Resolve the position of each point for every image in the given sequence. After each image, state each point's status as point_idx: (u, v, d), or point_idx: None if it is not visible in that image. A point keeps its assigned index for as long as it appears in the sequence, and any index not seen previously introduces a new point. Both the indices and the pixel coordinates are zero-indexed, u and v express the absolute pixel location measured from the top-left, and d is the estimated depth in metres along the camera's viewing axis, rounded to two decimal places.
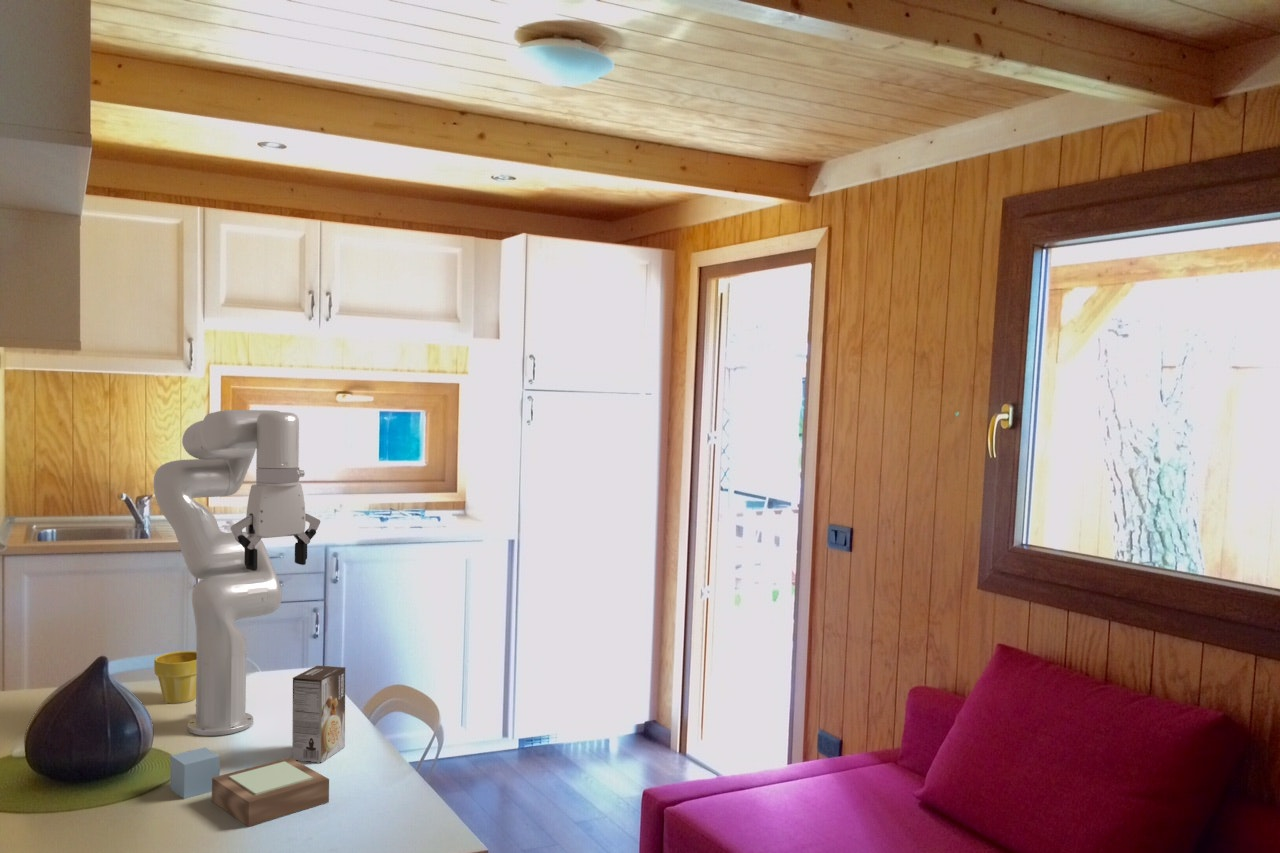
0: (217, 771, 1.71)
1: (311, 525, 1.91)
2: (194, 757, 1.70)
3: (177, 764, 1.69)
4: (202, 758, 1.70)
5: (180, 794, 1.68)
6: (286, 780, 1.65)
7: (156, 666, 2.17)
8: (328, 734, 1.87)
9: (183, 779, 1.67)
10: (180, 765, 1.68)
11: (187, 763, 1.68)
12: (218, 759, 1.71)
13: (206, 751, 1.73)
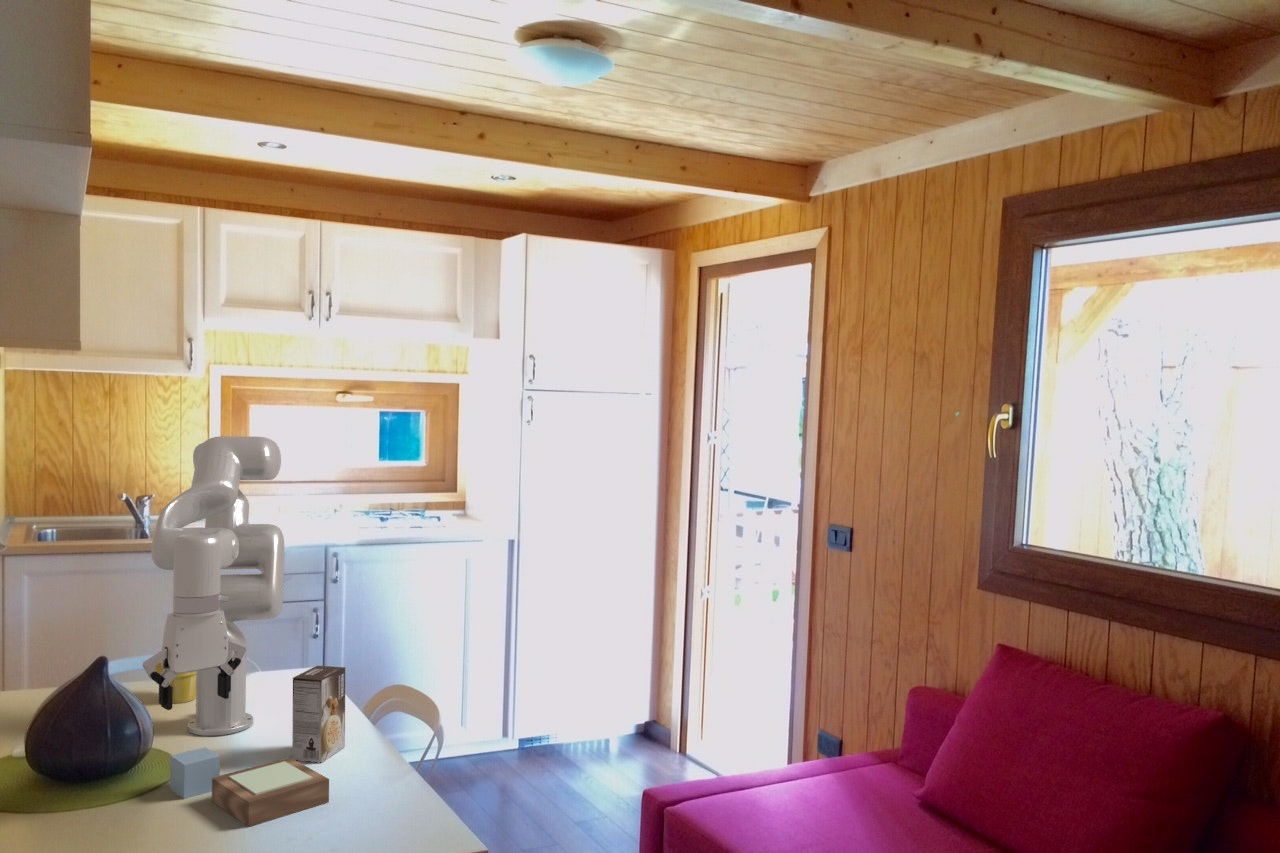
0: (217, 771, 1.71)
1: (236, 654, 1.75)
2: (194, 757, 1.70)
3: (177, 764, 1.69)
4: (202, 758, 1.70)
5: (180, 794, 1.68)
6: (286, 780, 1.65)
7: (156, 666, 2.17)
8: (328, 734, 1.87)
9: (183, 779, 1.67)
10: (180, 765, 1.68)
11: (187, 763, 1.68)
12: (218, 759, 1.71)
13: (206, 751, 1.73)
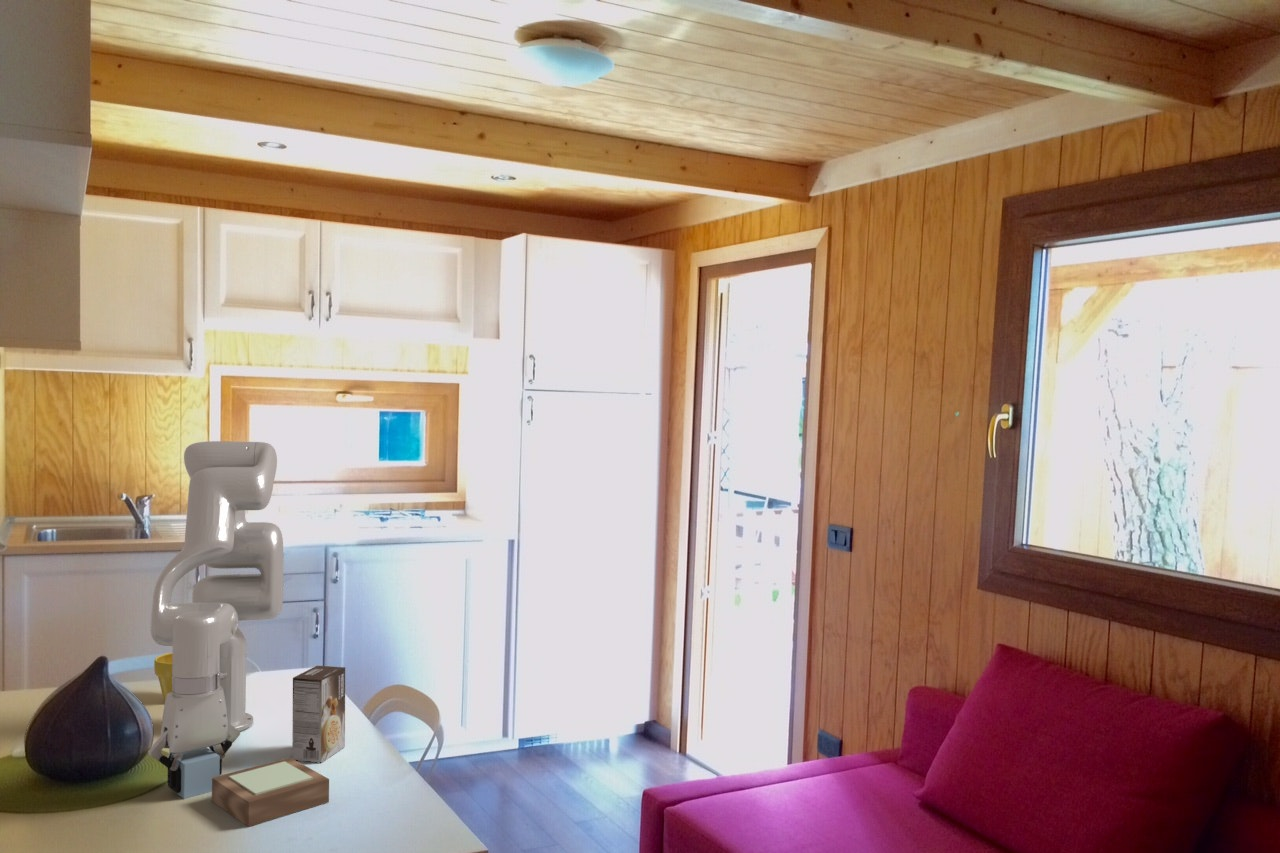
0: (217, 771, 1.71)
1: (229, 736, 1.75)
2: (194, 756, 1.70)
3: None
4: (202, 758, 1.70)
5: (180, 794, 1.68)
6: (286, 780, 1.65)
7: (156, 666, 2.17)
8: (328, 734, 1.87)
9: (183, 779, 1.67)
10: (180, 765, 1.68)
11: (187, 763, 1.68)
12: (218, 759, 1.71)
13: (206, 751, 1.73)
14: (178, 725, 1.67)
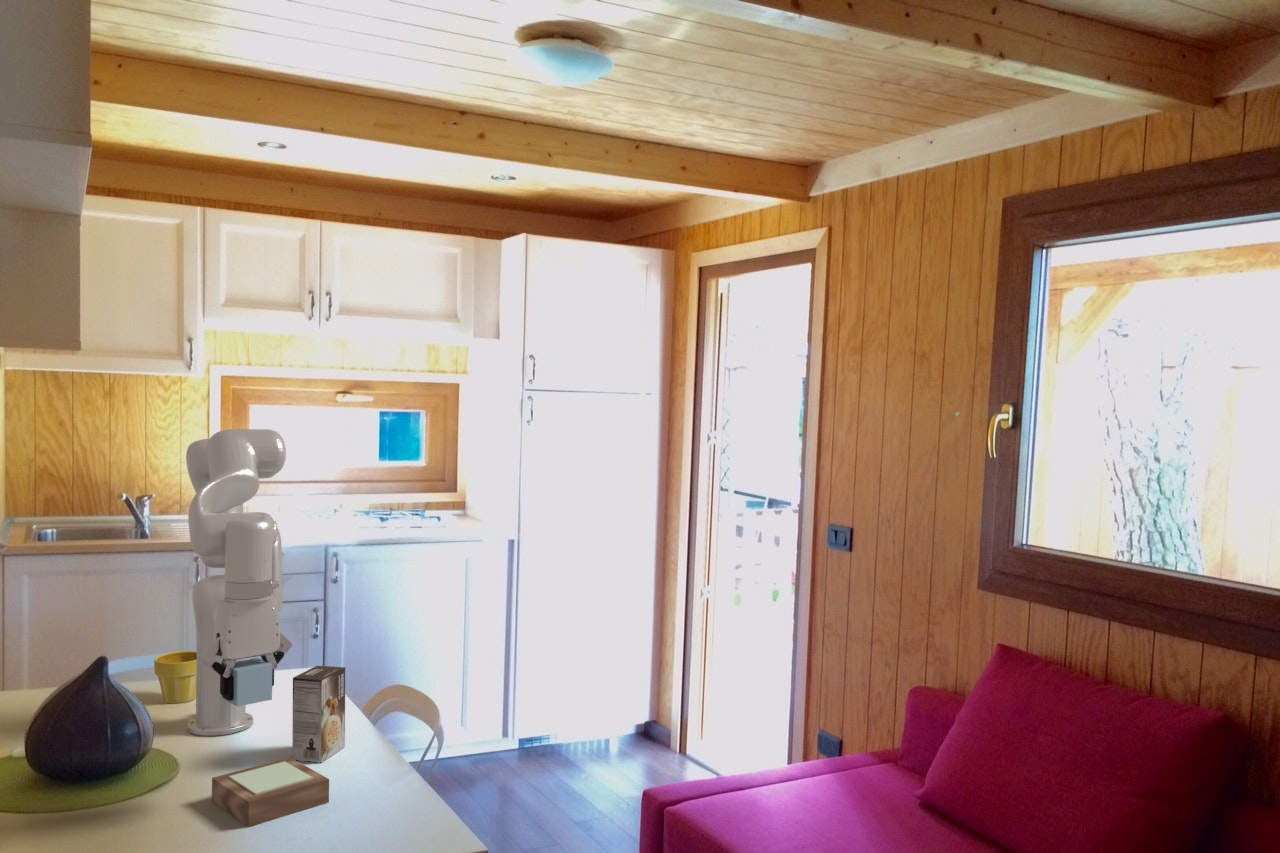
0: (270, 680, 1.67)
1: (281, 647, 1.71)
2: (246, 665, 1.67)
3: None
4: (254, 666, 1.66)
5: (233, 702, 1.64)
6: (286, 780, 1.65)
7: (156, 666, 2.17)
8: (328, 734, 1.87)
9: (236, 686, 1.63)
10: (233, 672, 1.64)
11: (240, 669, 1.64)
12: (271, 668, 1.67)
13: (258, 661, 1.69)
14: (231, 630, 1.63)
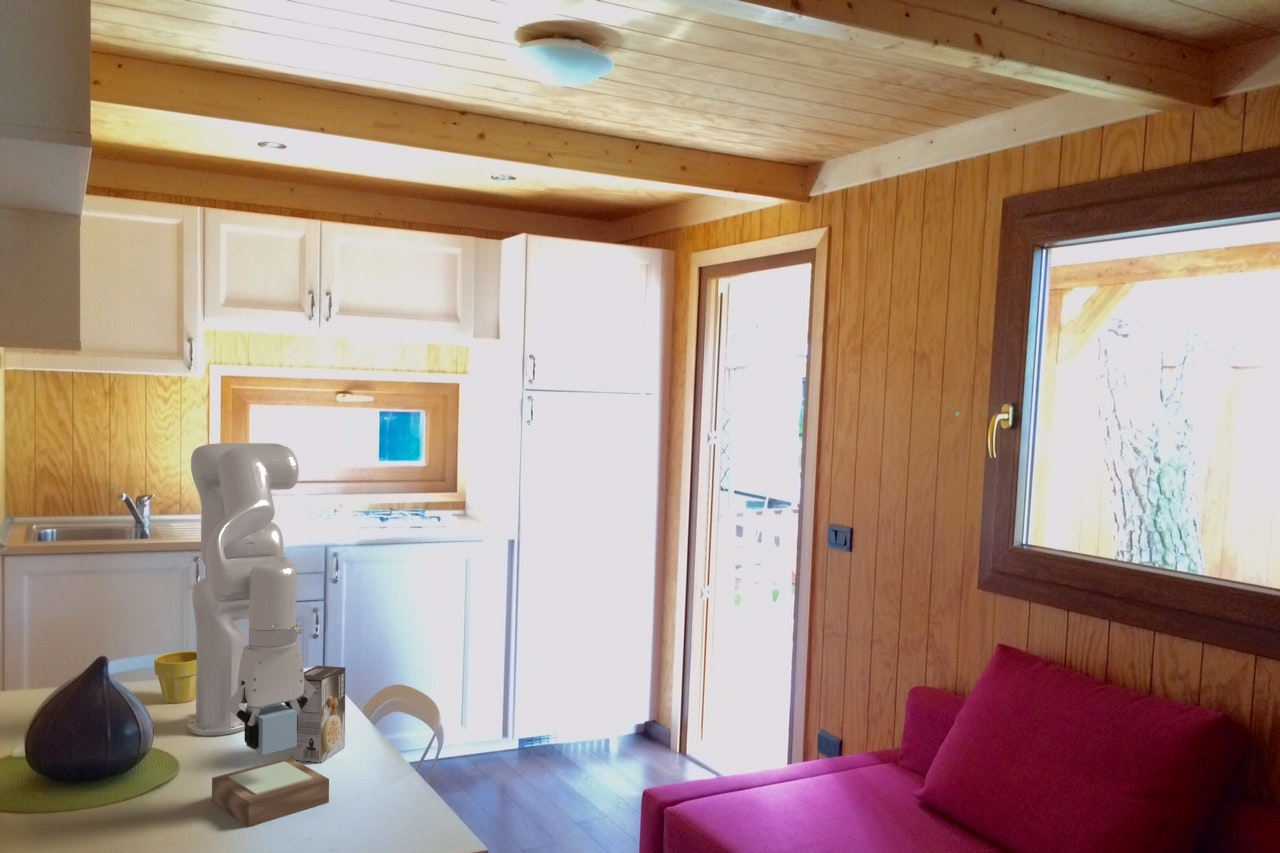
0: (294, 726, 1.66)
1: (304, 692, 1.70)
2: (271, 712, 1.65)
3: None
4: (279, 713, 1.65)
5: (258, 749, 1.63)
6: (286, 780, 1.65)
7: (156, 666, 2.17)
8: (328, 734, 1.87)
9: (261, 734, 1.62)
10: (258, 720, 1.63)
11: (265, 717, 1.63)
12: (295, 714, 1.66)
13: (282, 707, 1.68)
14: (256, 678, 1.62)
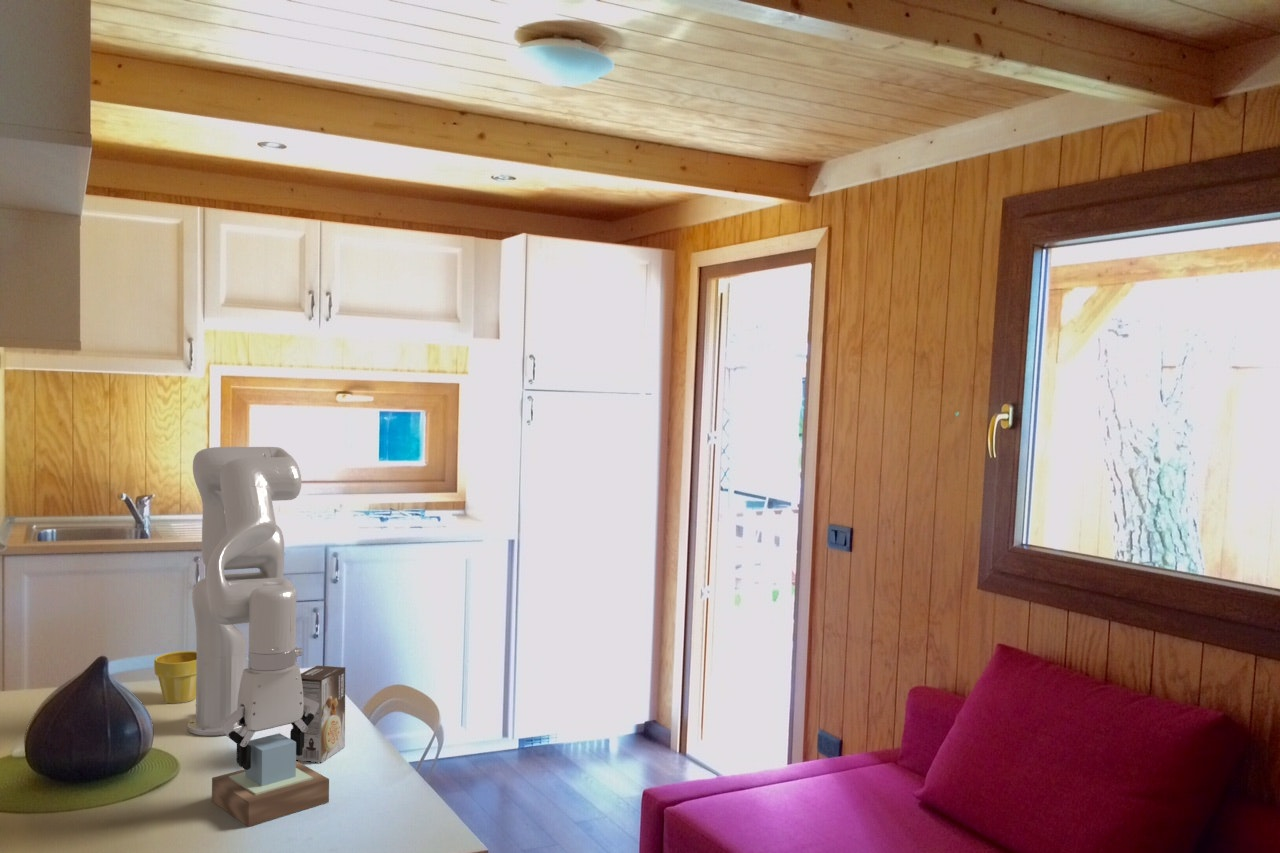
0: (293, 757, 1.66)
1: (309, 709, 1.71)
2: (270, 743, 1.66)
3: (253, 750, 1.64)
4: (278, 744, 1.65)
5: (257, 781, 1.63)
6: (286, 780, 1.65)
7: (156, 666, 2.17)
8: (328, 734, 1.87)
9: (260, 765, 1.63)
10: (257, 751, 1.63)
11: (264, 749, 1.63)
12: (294, 745, 1.66)
13: (281, 737, 1.68)
14: (256, 702, 1.62)
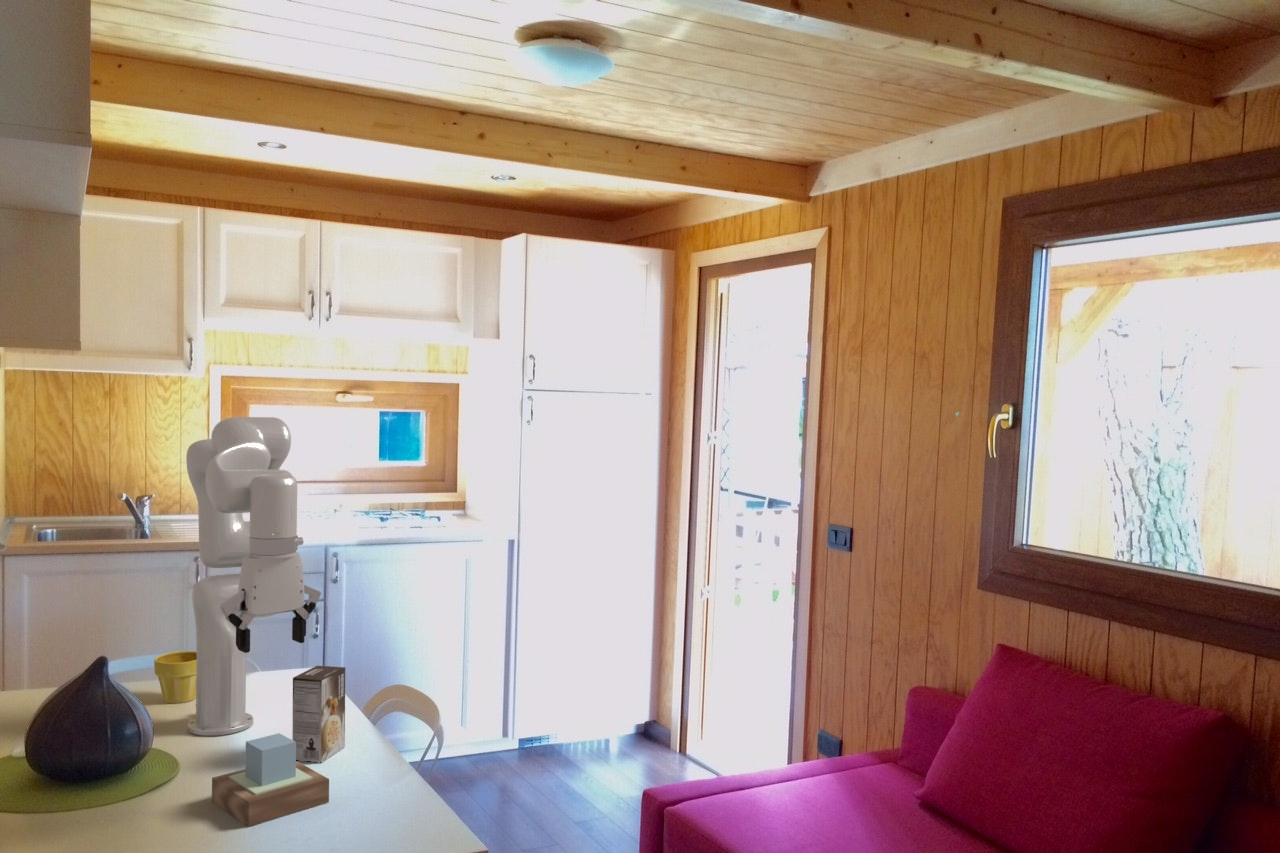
0: (293, 757, 1.66)
1: (310, 598, 1.72)
2: (270, 743, 1.66)
3: (253, 750, 1.64)
4: (278, 744, 1.65)
5: (257, 781, 1.63)
6: (286, 780, 1.65)
7: (156, 666, 2.17)
8: (328, 734, 1.87)
9: (260, 765, 1.63)
10: (257, 751, 1.63)
11: (264, 749, 1.63)
12: (294, 745, 1.66)
13: (281, 737, 1.68)
14: (256, 586, 1.62)
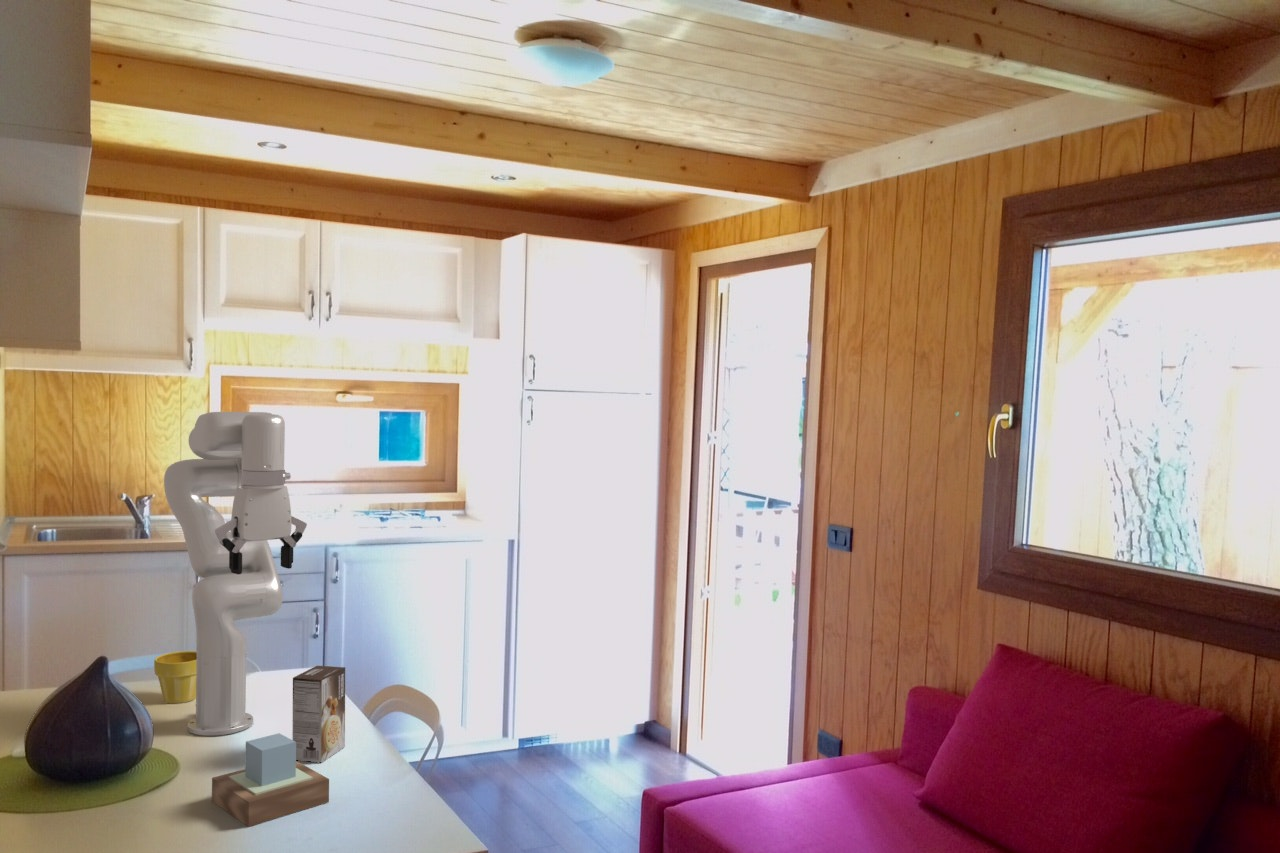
0: (293, 757, 1.66)
1: (297, 528, 1.89)
2: (270, 743, 1.66)
3: (253, 750, 1.64)
4: (278, 744, 1.65)
5: (257, 781, 1.63)
6: (286, 780, 1.65)
7: (156, 666, 2.17)
8: (328, 734, 1.87)
9: (260, 765, 1.63)
10: (257, 751, 1.63)
11: (264, 749, 1.63)
12: (294, 745, 1.66)
13: (281, 737, 1.68)
14: (248, 514, 1.79)
